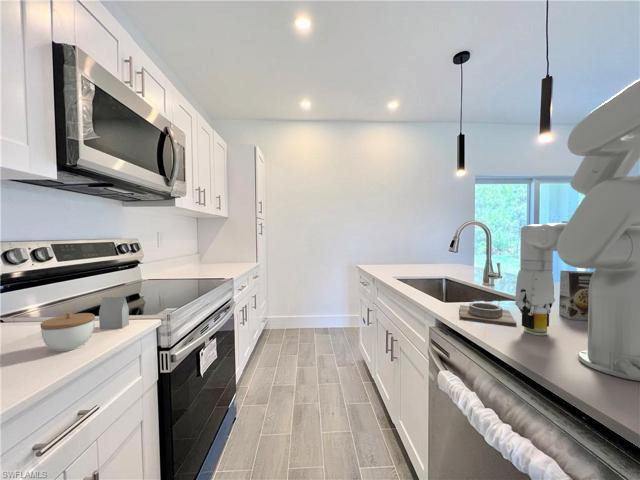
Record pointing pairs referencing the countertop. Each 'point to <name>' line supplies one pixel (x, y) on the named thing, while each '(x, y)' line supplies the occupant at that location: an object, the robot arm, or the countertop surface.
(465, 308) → the mount board
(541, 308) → the supplement bottle
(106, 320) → the grey gabled block
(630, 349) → the robot arm
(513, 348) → the countertop surface
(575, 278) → the cookie box
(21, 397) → the countertop surface
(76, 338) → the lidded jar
